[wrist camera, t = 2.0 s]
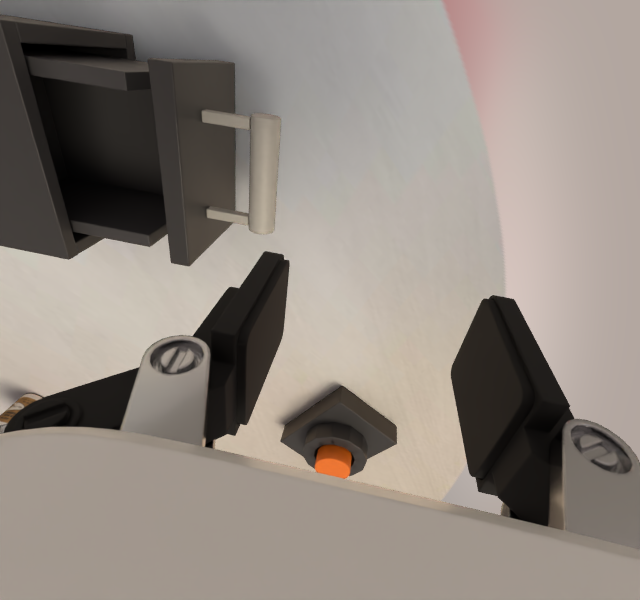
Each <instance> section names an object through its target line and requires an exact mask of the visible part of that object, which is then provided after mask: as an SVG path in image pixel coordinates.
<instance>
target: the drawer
mask: <svg viewBox="0 0 640 600" xmlns="http://www.w3.org/2000/svg"><path fill="white" fill-rule="evenodd" d="M21 46H22V50H23V54H24V57H25V61H26V65H27V68H28V72H29V76H30V79H31V83H32V87H33V90H34V94H35V98H36V101H37V105H38V109H39V112H40V116H41V120H42V123H43V127H44V131H45V134H46V138H47V142H48V145H49V149H50V153H51V156H52V160H53V164H54V167H55V171H56V175H57V178H58V182H59V186H60V189H61V193H62V197H63V200H64V204H65V208H66V211H67V215H68V218H69V222H70V226H71V229H72V232H77V233H82V234H87V235H92V236H97V237H102V238H108V239H113V240H118V241H123V242H128V243H133V244H138V245H143V246H148V247H150V246H152V245H153V244H155V243H156V242H157V241H159V240H160V239H161V238H163V237H164V236H165V235H167V234H168V241H169V249H170V258H171V263H174V264H179V265H184V266H190V265H191V264H192V263H193V262H194V261H195V260H196V259H197V258H198V257H199V256H200V255H201V254H202V253H203V252H204V251H205V250H206V249H207V248H208V247H209V246H210V245H211V244H212V243H213V242H214V241H215V240H216V239H217V238H218V237H219V236H220V235H221V234H222V233H223V232H224V231H226V230H227V229H228V228H229V227H230V226H231V225H232V224H233V223H238V224H243V225H248V224H249V230H250V231H251V232H253V233H256V234H270V233H272V232H273V231H274V227H275V210H276V194H277V178H278V161H279V145H280V128H281V118H280V117H278V116H275V115H271V114H263V113H253V114H251V117H249V116H243V115H238V114H235V64H234V63H232V62H225V61H219V60H193V59H160V58H149V59H148V62H141V61H135V60H129V59H123V58H116V57H110V56H104V55H98V54H92V53H85V52H79V51H73V50H67V49H60V48H54V47H48V46H42V45H36V44H23V43H21ZM235 128H240V129H245V130H250V129H251V130H250V184H249V213H244V212H238V211H235Z"/></svg>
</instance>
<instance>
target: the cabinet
mask: <svg viewBox="0 0 640 600" xmlns="http://www.w3.org/2000/svg"><path fill="white" fill-rule="evenodd" d="M21 43H23V44H36V45H42V46H48V47H54V48H60V49H67V50H73V51H79V52H85V53H92V54H98V55H104V56H110V57H116V58H123V59H129V60H135V52H134V44H133V37H132V35H129V34H123V33H116V32H110V31H104V30H97V29H91V28H84V27H78V26H72V25H65V24H59V23H52V22H46V21H39V20H33V19H27V18H20V17H14V16H7V15H1V14H0V246H5V247H10V248H15V249H19V250H24V251H29V252H34V253H39V254H44V255H49V256H54V257H59V258H64V259H71V258H73V257H74V256H76V255H78V253H80V252H82V251H84V250H85V249H87V248H89V247H90V246H92V245H94V244H95V243H97V242H99V241H100V240H102V239H104V238H102V237H97V236H92V235H87V234H82V233H77V232H72V229H71V226H70V222H69V218H68V215H67V211H66V208H65V204H64V200H63V197H62V193H61V189H60V186H59V182H58V178H57V175H56V171H55V167H54V164H53V160H52V156H51V153H50V149H49V145H48V142H47V138H46V134H45V131H44V127H43V123H42V120H41V116H40V112H39V109H38V105H37V101H36V98H35V94H34V90H33V87H32V83H31V79H30V76H29V72H28V68H27V65H26V61H25V57H24V54H23V50H22V46H21ZM135 61H136V60H135Z"/></svg>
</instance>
